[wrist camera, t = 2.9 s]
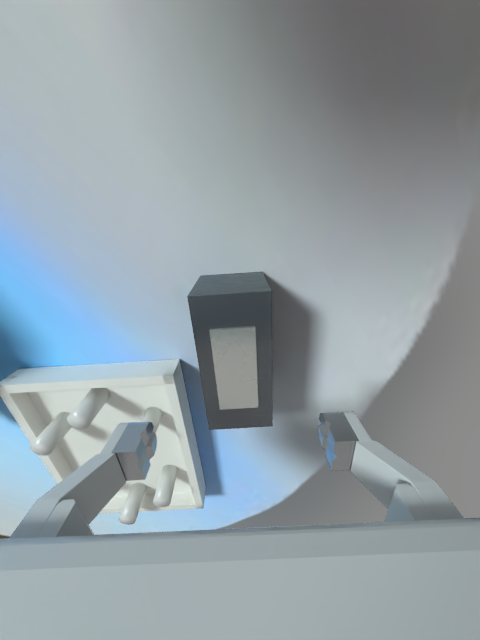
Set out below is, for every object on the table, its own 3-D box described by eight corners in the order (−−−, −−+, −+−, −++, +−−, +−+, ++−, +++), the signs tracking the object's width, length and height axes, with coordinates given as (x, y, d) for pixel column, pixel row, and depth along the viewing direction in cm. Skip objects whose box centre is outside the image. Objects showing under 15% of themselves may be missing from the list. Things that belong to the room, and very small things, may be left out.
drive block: (200, 275, 17) (186, 297, 12) (261, 271, 17) (272, 292, 12) (215, 383, 21) (209, 431, 16) (264, 380, 21) (272, 427, 16)
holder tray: (18, 368, 20) (-32, 403, 16) (179, 359, 19) (166, 391, 16) (89, 492, 27) (65, 535, 23) (205, 486, 27) (200, 529, 23)
